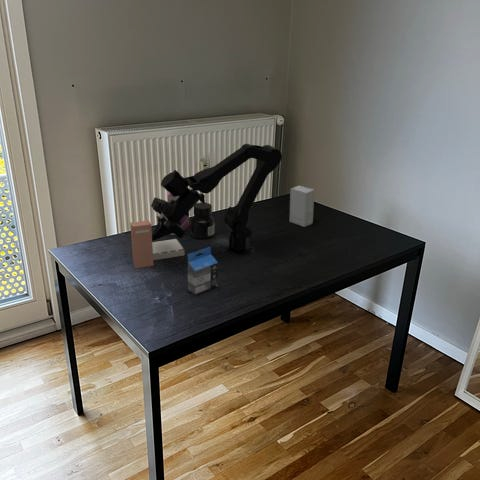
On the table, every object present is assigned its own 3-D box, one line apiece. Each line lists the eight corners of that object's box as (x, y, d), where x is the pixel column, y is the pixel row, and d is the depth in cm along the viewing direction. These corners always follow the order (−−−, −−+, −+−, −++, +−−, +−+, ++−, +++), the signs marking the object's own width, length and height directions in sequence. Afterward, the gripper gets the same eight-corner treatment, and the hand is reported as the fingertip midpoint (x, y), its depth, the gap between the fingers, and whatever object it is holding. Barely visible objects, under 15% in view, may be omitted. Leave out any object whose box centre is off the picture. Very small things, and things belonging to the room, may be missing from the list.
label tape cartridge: (195, 295, 143) (194, 258, 138) (187, 290, 146) (186, 254, 140) (218, 286, 148) (218, 250, 143) (210, 281, 151) (210, 246, 146)
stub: (150, 261, 162) (148, 220, 156) (153, 265, 159) (151, 224, 153) (133, 263, 160) (130, 222, 154) (135, 268, 157) (132, 226, 151)
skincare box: (312, 224, 196) (316, 189, 190) (303, 227, 192) (306, 192, 186) (297, 218, 201) (299, 184, 195) (287, 221, 198) (290, 187, 191)
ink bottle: (215, 239, 179) (215, 210, 174) (191, 240, 178) (191, 210, 173) (213, 229, 188) (213, 200, 183) (190, 230, 187) (190, 201, 182)
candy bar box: (177, 224, 192) (176, 185, 185) (189, 225, 191) (189, 186, 184) (168, 235, 182) (167, 194, 175) (181, 236, 181) (180, 195, 174)
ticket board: (176, 243, 175) (176, 238, 174) (184, 255, 167) (184, 249, 166) (138, 249, 170) (138, 244, 169) (144, 261, 162) (144, 256, 161)
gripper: (158, 181, 160) (127, 215, 160) (174, 199, 144) (139, 237, 145) (181, 200, 166) (151, 234, 167) (199, 220, 151) (166, 256, 151)
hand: (151, 239), depth 157 cm, fingers closed, pressing on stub
